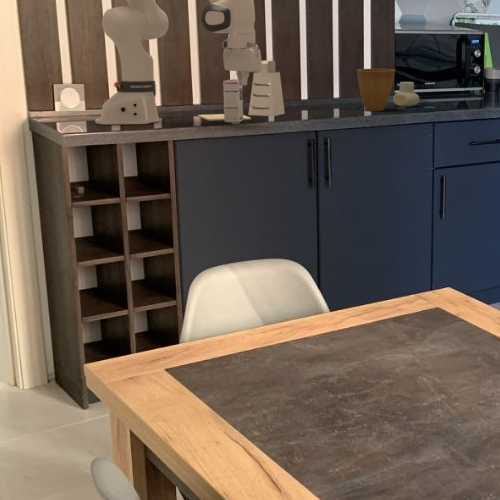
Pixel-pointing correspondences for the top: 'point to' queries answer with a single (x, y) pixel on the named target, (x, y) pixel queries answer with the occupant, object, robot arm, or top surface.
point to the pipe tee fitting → (406, 95)
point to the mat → (217, 117)
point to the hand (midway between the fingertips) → (242, 85)
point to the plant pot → (375, 87)
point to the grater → (266, 92)
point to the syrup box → (233, 101)
